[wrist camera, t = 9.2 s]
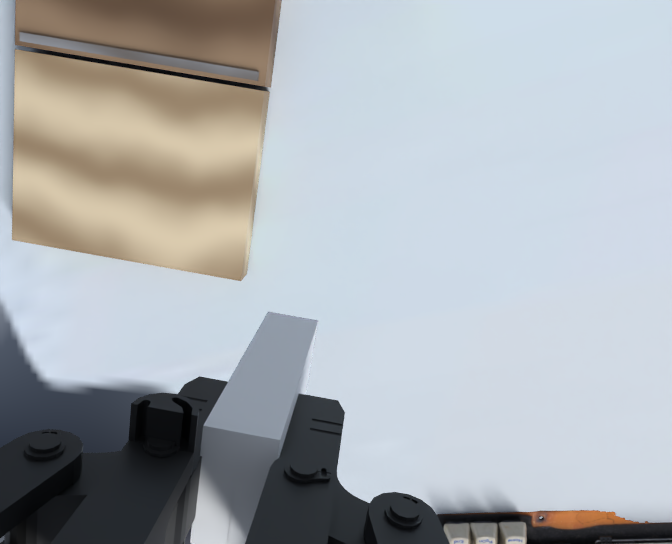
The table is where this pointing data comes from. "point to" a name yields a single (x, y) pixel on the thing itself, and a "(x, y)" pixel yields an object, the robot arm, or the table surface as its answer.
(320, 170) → the table surface
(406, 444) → the table surface
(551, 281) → the table surface
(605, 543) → the mechanical keyboard
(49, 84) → the oak plank
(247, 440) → the robot arm
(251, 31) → the walnut board
